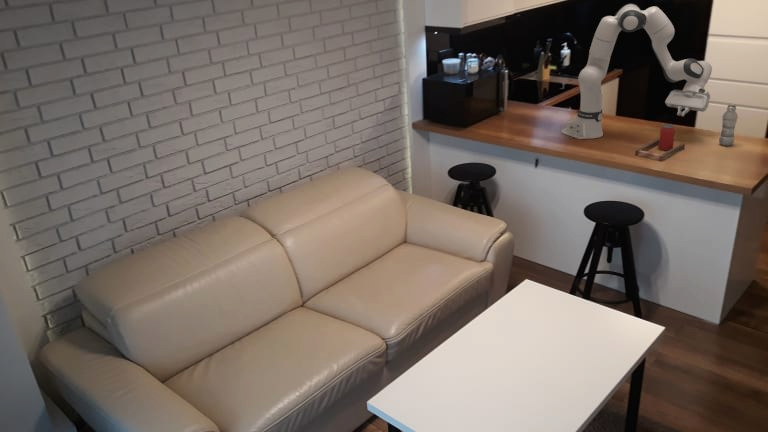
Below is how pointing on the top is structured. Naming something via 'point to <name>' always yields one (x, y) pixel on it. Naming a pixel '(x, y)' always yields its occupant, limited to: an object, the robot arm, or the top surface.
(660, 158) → the walnut channel
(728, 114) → the plastic bottle
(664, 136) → the beer can
